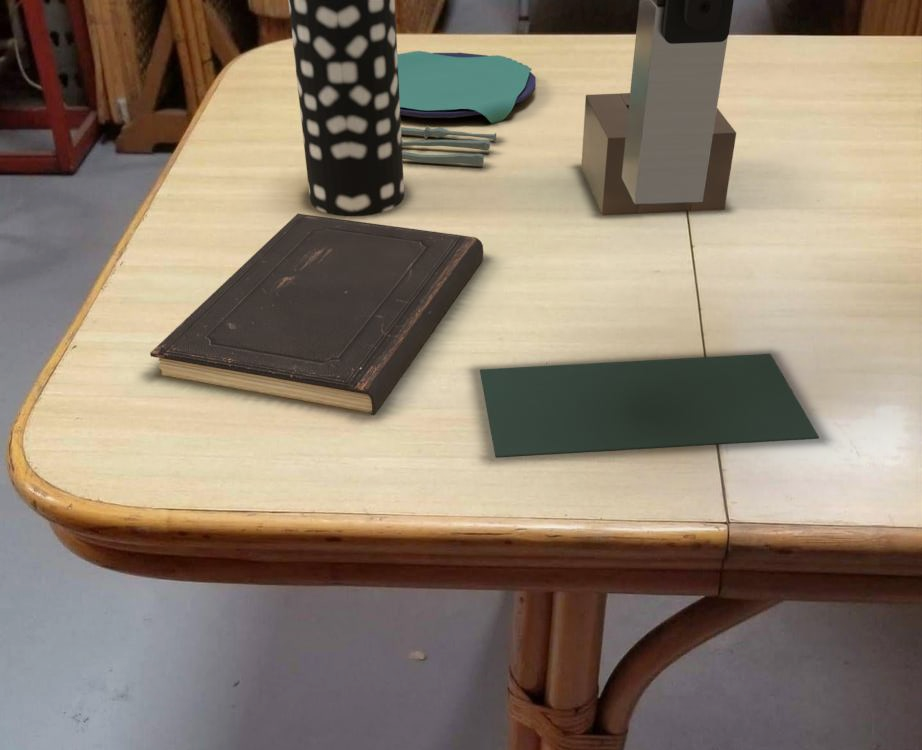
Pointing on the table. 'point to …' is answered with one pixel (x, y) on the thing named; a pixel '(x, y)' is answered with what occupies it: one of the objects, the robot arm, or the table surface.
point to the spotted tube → (349, 103)
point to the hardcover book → (324, 312)
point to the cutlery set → (458, 96)
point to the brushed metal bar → (670, 113)
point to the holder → (607, 154)
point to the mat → (641, 405)
